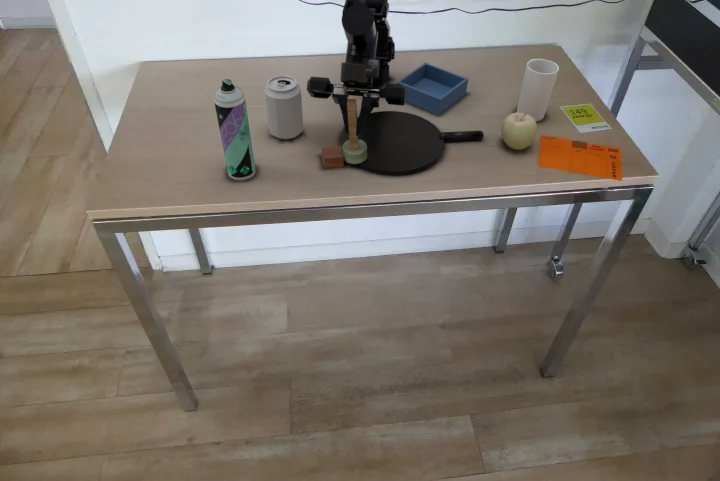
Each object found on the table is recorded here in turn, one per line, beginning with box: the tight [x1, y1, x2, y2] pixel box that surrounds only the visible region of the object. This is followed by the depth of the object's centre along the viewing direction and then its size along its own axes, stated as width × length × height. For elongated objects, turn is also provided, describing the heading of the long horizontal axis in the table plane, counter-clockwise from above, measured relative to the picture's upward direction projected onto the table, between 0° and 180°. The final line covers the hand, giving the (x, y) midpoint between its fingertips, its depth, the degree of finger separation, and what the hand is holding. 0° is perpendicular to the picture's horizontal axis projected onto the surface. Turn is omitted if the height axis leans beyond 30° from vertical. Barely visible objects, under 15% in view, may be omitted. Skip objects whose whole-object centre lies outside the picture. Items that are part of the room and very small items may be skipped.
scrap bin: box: [395, 62, 469, 116], centre depth 133 cm, size 12×12×4 cm
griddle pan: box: [340, 110, 485, 176], centre depth 120 cm, size 31×22×2 cm
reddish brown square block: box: [320, 144, 345, 169], centre depth 115 cm, size 4×4×2 cm
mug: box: [516, 58, 560, 122], centre depth 126 cm, size 10×7×12 cm, turn 7°
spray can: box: [213, 78, 256, 181], centre depth 105 cm, size 6×6×20 cm
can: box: [264, 74, 304, 140], centre depth 119 cm, size 8×8×12 cm
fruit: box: [500, 112, 538, 151], centre depth 118 cm, size 8×7×8 cm
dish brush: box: [341, 98, 367, 165], centre depth 110 cm, size 5×5×13 cm
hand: (352, 135), depth 109 cm, fingers closed on dish brush
